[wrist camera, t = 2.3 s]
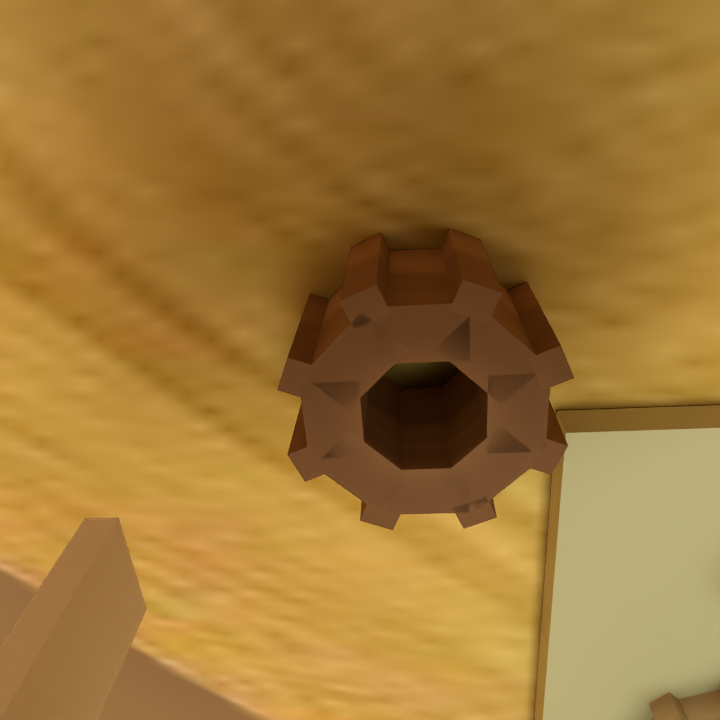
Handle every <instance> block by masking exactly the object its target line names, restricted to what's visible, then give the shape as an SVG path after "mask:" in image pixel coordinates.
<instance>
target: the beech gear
mask: <svg viewBox="0 0 720 720" xmlns="http://www.w3.org/2000/svg"><path fill="white" fill-rule="evenodd" d="M649 705H650V708H651V711H652V713H653V718H652V719H651V720H720V686H719V690H715V691H711V692H707V693H703V694H699V695H695V696H690V697H686V698H682V699H678V698H677V697H675V696H674V695H673V694H671V693H670V692H668V693H667V694H665V695H663V696H661V697H660V698H658V699H656V700H654V701H652V702H651V703H649Z"/></svg>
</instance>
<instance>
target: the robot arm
mask: <svg viewBox="0 0 720 720" xmlns="http://www.w3.org/2000/svg"><path fill="white" fill-rule="evenodd" d="M145 611H146V606H145V603H144V599H143V596H142V593H141V589H140V586H139V583H138V580H137V576H136V573H135V570H134V567H133V563H132V560H131V557H130V553H129V550H128V547H127V544H126V540H125V537H124V534H123V531H122V527H121V524H120V521H119V518H87V519H84V521H83V522H82V524H81V525H80V527H79V528H78V530H77V531H76V533H75V534H74V536H73V537H72V539H71V540H70V542H69V543H68V545H67V546H66V548H65V549H64V551H63V553H62V554H61V556H60V557H59V559H58V560H57V562H56V563H55V565H54V566H53V568H52V569H51V571H50V572H49V574H48V575H47V577H46V578H45V580H44V581H43V583H42V585H41V586H40V588H39V589H38V591H37V592H36V594H35V595H34V597H33V598H32V600H31V601H30V603H29V604H28V606H27V607H26V609H25V611H24V612H23V614H22V615H21V617H20V618H19V620H18V621H17V623H16V624H15V626H14V627H13V629H12V630H11V632H10V633H9V635H8V636H7V638H6V639H5V641H4V643H3V644H2V645H1V647H0V720H98V718H99V716H100V714H101V712H102V709H103V707H104V705H105V702H106V700H107V698H108V696H109V693H110V691H111V689H112V687H113V684H114V682H115V680H116V677H117V675H118V673H119V670H120V668H121V666H122V664H123V661H124V659H125V657H126V654H127V652H128V650H129V648H130V646H131V643H132V641H133V639H134V636H135V634H136V632H137V630H138V627H139V625H140V623H141V621H142V618H143V616H144V614H145Z"/></svg>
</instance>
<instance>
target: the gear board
mask: <svg viewBox="0 0 720 720" xmlns="http://www.w3.org/2000/svg"><path fill="white" fill-rule="evenodd" d="M556 418H557V420H558V422H559V425H560V427H561V430H562V432H563V434H564V437H565V439H566V441H567V444H568V447H567V449H566V451H565V452H564V454H563V456H562V458H561V459H560V461H559V463H558V464H557V466H556V468H555V470H554V471H553V473H552V480H551V494H550V507H549V521H548V535H547V549H546V563H545V577H544V591H543V605H542V619H541V633H540V646H539V660H538V674H537V688H536V702H535V716H534V720H651V719H652V718H653V713H652V711H651V708H650V705H649V703H651V702H652V701H654V700H656V699H658V698H660V697H661V696H663V695H665V694H667V693H668V692H670V693H671V694H673V695H674V696H675V697H677V698H678V699H682V698H686V697H690V696H695V695H699V694H703V693H707V692H711V691H715V690H719V686H720V405H704V406H676V407H649V408H621V409H593V410H566V411H556Z"/></svg>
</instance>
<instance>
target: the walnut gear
mask: <svg viewBox="0 0 720 720" xmlns="http://www.w3.org/2000/svg"><path fill="white" fill-rule="evenodd" d="M445 361H450V362H451V363H452V364H453V365H454V366H456V367H457V368H458V369H459V371H458V372H457V373H456V374H455V375H454V376H453V377H452V378H451V379H449V380H448V381H447V382H446V383H445V384H444V385H443V386H442V387H435V388H410V389H400V388H399V387H398V386H396V385H395V384H394V383H393V382H391V381H390V380H389V379H388V378H386V377H385V376H384V374H385V373H386V372H387V371H388V370H389V369H390V368H391V367H392V366H393V365H394V364H398V363H421V362H445ZM573 378H574V377H573V374H572V372H571V369H570V367H569V364H568V362H567V359H566V357H565V355H564V352H563V350H562V347H561V345H560V343H559V341H558V339H557V337H556V335H555V334H554V332H553V330H552V328H551V326H550V324H549V322H548V320H547V319H546V317H545V315H544V313H543V311H542V309H541V307H540V306H539V304H538V302H537V300H536V298H535V296H534V294H533V292H532V291H531V289H530V287H529V285H528V283H524V284H522V285H520V286H517V287H515V288H513V289H510V290H507V289H505V288H504V287H503V286H502V285H501V284H500V283H499V282H498V281H497V279H496V276H495V274H494V272H493V269H492V267H491V264H490V262H489V259H488V257H487V255H486V252H485V250H484V247H483V245H482V242H481V240H480V239H478V238H475V237H472V236H469V235H466V234H463V233H460V232H457V231H454V230H451V229H449V230H448V232H447V235H446V237H445V240H444V242H443V245H442V247H441V248H433V249H416V250H398V251H390V250H389V248H388V246H387V244H386V242H385V240H384V238H383V236H382V234H381V233H379V234H377V235H375V236H373V237H371V238H369V239H367V240H365V241H363V242H361V243H359V244H357V245H354V246H352V247H351V251H350V256H349V260H348V264H347V269H346V273H345V277H344V282H343V285H342V286H341V287H340V288H339V289H338V290H337V291H336V293H335V294H334V295H333V296H332V297H331V298H330V299H329V300H328V299H325V298H322V297H319V296H315V295H312V294H310V295H309V298H308V301H307V304H306V307H305V309H304V312H303V315H302V318H301V321H300V324H299V327H298V329H297V332H296V335H295V338H294V341H293V344H292V346H291V349H290V352H289V355H288V358H287V361H286V364H285V368H284V371H283V374H282V377H281V380H280V384H279V387H278V390H279V391H282V392H286V393H289V394H292V395H295V396H299V397H301V406H300V410H299V414H298V417H297V421H296V425H295V429H294V432H293V436H292V440H291V443H290V447H289V451H288V456H289V458H290V459H291V461H292V462H293V464H294V465H295V467H296V468H297V470H298V471H299V473H300V475H301V476H302V478H303V479H304V481H308V480H311V479H313V478H316V477H318V476H321V475H324V474H325V475H327V476H328V477H330V478H331V479H332V480H334V481H335V482H337V483H338V484H339V485H341V486H342V487H344V488H345V489H346V490H348V491H349V492H351V493H352V494H353V495H355V496H356V497H357V498H359V499H360V500H362V504H361V517H360V521H364V522H367V523H370V524H374V525H377V526H381V527H384V528H387V529H391V530H393V529H394V527H395V525H396V522H397V520H398V518H399V516H400V514H430V513H456V515H457V517H458V519H459V521H460V523H461V524H462V526H463V528H467V527H470V526H473V525H476V524H479V523H482V522H485V521H488V520H491V519H493V518H496V517H497V516H496V512H495V507H494V502H493V497H495V496H496V495H497V494H498V493H500V492H501V491H502V490H503V489H505V488H506V487H507V486H508V485H510V484H511V483H512V482H513V481H515V480H516V479H517V478H518V477H520V476H521V475H522V474H523V473H525V472H526V471H527V470H528V469H530V468H532V469H535V470H538V471H541V472H545V473H548V474H551V475H552V473H553V471H554V470H555V468H556V466H557V464H558V463H559V461H560V459H561V458H562V456H563V454H564V452H565V451H566V449H567V447H568V444H567V441H566V439H565V437H564V434H563V432H562V430H561V427H560V425H559V422H558V420H557V418H556V415H555V413H554V410H553V408H552V406H551V403H550V401H549V393H550V387H552V386H555V385H557V384H560V383H563V382H565V381H568V380H570V379H573Z"/></svg>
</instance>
